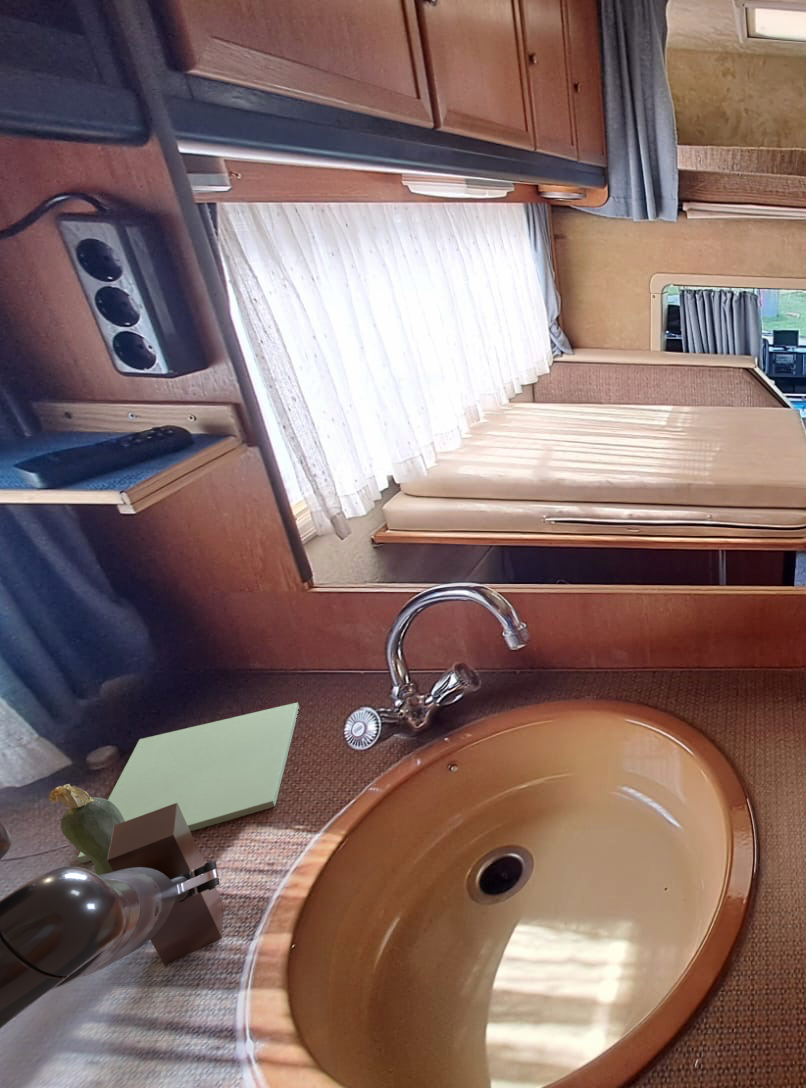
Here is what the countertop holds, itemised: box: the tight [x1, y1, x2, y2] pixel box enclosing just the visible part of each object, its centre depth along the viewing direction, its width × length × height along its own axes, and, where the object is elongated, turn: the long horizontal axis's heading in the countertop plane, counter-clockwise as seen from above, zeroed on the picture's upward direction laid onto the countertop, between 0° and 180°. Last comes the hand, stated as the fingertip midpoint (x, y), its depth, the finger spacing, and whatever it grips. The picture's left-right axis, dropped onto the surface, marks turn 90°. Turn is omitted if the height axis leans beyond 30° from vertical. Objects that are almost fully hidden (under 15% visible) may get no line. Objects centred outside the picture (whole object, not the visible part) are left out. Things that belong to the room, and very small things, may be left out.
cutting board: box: [77, 701, 300, 864], centre depth 93 cm, size 20×22×1 cm
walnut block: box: [107, 803, 224, 966], centre depth 70 cm, size 5×5×18 cm
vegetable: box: [48, 783, 125, 875], centre depth 73 cm, size 4×4×20 cm
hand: (160, 897), depth 67 cm, fingers closed
